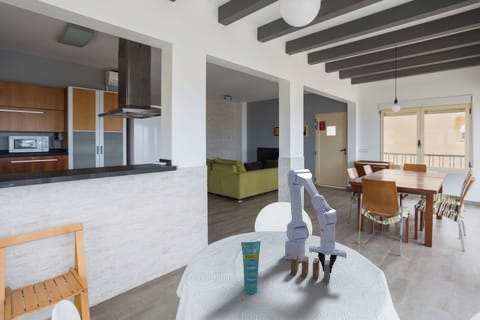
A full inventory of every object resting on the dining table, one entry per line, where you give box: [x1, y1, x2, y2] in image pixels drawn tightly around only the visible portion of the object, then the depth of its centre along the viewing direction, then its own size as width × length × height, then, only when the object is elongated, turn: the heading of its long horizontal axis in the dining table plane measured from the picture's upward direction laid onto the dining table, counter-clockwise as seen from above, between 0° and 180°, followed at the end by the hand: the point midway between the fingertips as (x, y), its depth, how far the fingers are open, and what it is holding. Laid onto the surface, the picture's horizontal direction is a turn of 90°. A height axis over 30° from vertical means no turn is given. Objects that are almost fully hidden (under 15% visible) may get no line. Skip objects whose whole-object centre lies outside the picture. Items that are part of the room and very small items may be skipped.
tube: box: [240, 240, 261, 295], centre depth 97 cm, size 7×5×19 cm, turn 103°
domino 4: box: [323, 259, 331, 283], centre depth 105 cm, size 2×5×7 cm, turn 155°
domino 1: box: [290, 254, 299, 276], centre depth 111 cm, size 2×5×7 cm, turn 155°
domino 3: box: [312, 257, 320, 281], centre depth 107 cm, size 2×5×7 cm, turn 155°
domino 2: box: [301, 255, 310, 279], centre depth 109 cm, size 2×5×7 cm, turn 155°
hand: (327, 271), depth 105 cm, fingers closed on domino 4, 2 cm apart
